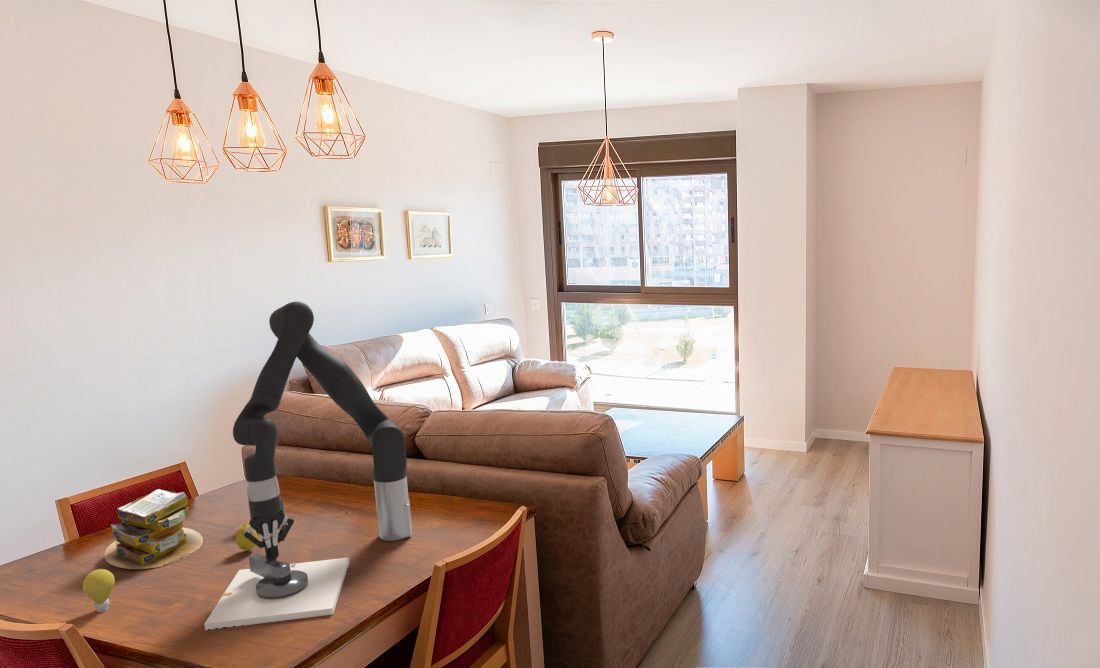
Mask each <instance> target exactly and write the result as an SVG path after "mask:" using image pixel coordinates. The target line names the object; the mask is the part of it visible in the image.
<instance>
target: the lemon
mask: <svg viewBox="0 0 1100 668" xmlns="http://www.w3.org/2000/svg"><path fill="white" fill-rule="evenodd" d="M249 526H250V525H249V524H247V523H244V524H243V525H242V526H240V527H239V528H238V530H237V531H236V537H235V540H236V541H235V542H236V546H238V547H239V549H240V550H243V551H246V552H247V551H248V552H250V551H251V550H252V549H253V548H255V547H256V545H255V544H254V543H253V542H251V541H250V540H249V539H247V538H246V537H245V536H244V535H243V534H242V531H244V530H246V529H247V528H248V527H249ZM253 532H254V535H253V536H254V537H255V538H257V539H258V532H257V531H255V530H254V529H253Z"/></svg>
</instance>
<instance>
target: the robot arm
mask: <svg viewBox="0 0 1100 668" xmlns="http://www.w3.org/2000/svg"><path fill="white" fill-rule="evenodd" d="M314 317H315V316H314V312H313V310H312V308H311V307H310V306H309V305H308V304H307V303H306V302H305V303H304V302H303V301H298V300H297V301H296V300H295V301H292V302H288V303H287V304H285V305H282V306H281V307H279V308H277V309H276V310H274V311H273V312H272V313H271V315H270V316H269V321H268V323H269V327H270V330H271V332H272V333H273V335H274V336H275V337H276V338H277V341H276V343H275V346H274V347H273V350H272V351H271V353H270V355H269V357H268V359H267V361H266V362H265V364H264V365H263V367H262V369H261V371H260V373H259V374H258V377H257V379H256V382H255V385H254V387H253V390H252V393H251V397H250V398H249V400H248V402H247V403H246V404H245V406H244V407H243V409H242V410H241V411H240V413H239V414H238V416H237V418H236V420H235V421H234V424H233V428H232V437H233V440H234V442H236V443H237V444H238V445H241V446H246V447H247V446H249V447H250V446H255V452H254V453H252V454H250V455H248V456H246V458H244V464H243V467H244V471H245V472H244V473H245V478H246V479H245V480H246V494H247V501H248V508H249V515H250V519H249V524H248V525H250V526H249V527H248V528H247V529H246V530H244V531H242V534H243V535H244V536H245V537H246V538H247V539H249V540H250V541H251V542H253V543H254V544H255V546H257V548H259V549H262V548H264V551H265V556H267V557H269V558H272V559H274V560H277V561H278V558H279V556H280V554H279V546H278V545H279V543H281V542H284V541H285V539H286V537H287V535H288V534H289V531H290V530H291V528H292V526H293V524H294V523H295V520H294V518H292V517H290V516H287V515H286V513H285V514H284V513H283V512H282V507H281V499H280V497H281V493H280V491H281V489H280V487H279V486H280V485H279V482H278V477H277V471H276V465H275V454H276V449H277V448H276V447H277V440H278V429H277V425H276V423H275V422H274V421H273V419H272V418H269V417H265V416H266V415H267V414H270V413H273V412H276V411H277V409H278V408H279V406H280V403H281V400H282V397H283V395H284V391H285V388H286V385H287V383H288V380H289V377H290V373H291V371H292V368H293V367H294V363H295V362H296V360H297V359H298V360H299V361H300V363H301V364H302V365H303V367H305V368H306V370H307V371H308V372H309V373H310V374H311V376H313V378H314V379H315V380H316V381H317V383H318V384H319V385H320V387H321V388H322V389H323V391H324V392H325V393H326V394H327V395H328V396H329V398H330V399H331V400H332V401H333V402H334V403H335V405H336V406H338V407H339V408H340V409H341V410H342V411H343V412H345V413H346V414H347V415H348V416H349V417H350V418H352V419H353V420H354V422H355V424H357V425H358V427H359V428H360V429H361V430H360V431H362V433H363V435H364V436H365V437H366V439H367V441H368V443H369V445H370V447H371V448H372V449H371V452H372V460H373V461H372V462H373V469H372V473H373V474H372V475H373V487H374V496H375V497H374V498H375V506H376V517H377V527H378V538H379V539H380V540H382V541H386V542H387V541H388V542H391V541H392V542H394V541H399V540H403V539H406V538H409V537H410V538H411V537H412V532H413V524H412V514H411V502H410V498H409V492H408V491H409V489H408V477H407V467H408V463H407V448H406V447H407V446H406V439H405V436H404V432H403V430H402V429H401V428H400V427H399V426H398V425H397V424H396V423H394V422H393V420H391V419H390V418H389V417H388V416H387V415H386V414H385V413H384V412H383V411H382V410H381V409H380V407H379V406H377V405H376V403H375V402H374V400H373V399H372V397H371V396H370V394H369V392H368V390H367V388H366V386H365V385H364V384H363V382H362V380H360V378H359V377H358V375H357V374H356V373H355V372H354V371H353V370H354V369H352V368H351V367H350V366H349V365H348V363H347V362H346V361H344V360H343V359H342V358H341V357H339V356H338V355H336V354H334V353H333V352H331V351H330V350H328V349H326V348H325V347H323V346H322V345H321V344H320V343H318V341H317V340H316V339H315V338H314V337H313V336H312V334H311V333H310V331H311V330H312V328H313V325H314V321H315V318H314ZM280 527H281V528H280ZM253 529H254V530H255V531H256V533H257V534H259V535H260V537H261V540H259V539H258V537H257V538H255V537H254V536H253V535H254V532H253ZM278 530H279V531H278Z"/></svg>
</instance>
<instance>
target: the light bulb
mask: <svg viewBox="0 0 1100 668" xmlns="http://www.w3.org/2000/svg"><path fill="white" fill-rule="evenodd" d="M115 583H116V580H115V576H114V574H113V573H112V572H111V571H109V570H108V569H103V568H99V569H95V570H92V571H91V572H89V573H88V574H87V575H86V576H85V578H84V579H83V581H82V590H83V592H84V593H85V594H86V595H87V596H88V598H90V599H91V600H92V601H93V602H94V603H93V607H94V609H96V612H98V613H102V612H105V611H107V610H108V609H109V605H110V599H109V597H110V595H111V594H112V593H111V592H112V591H113V588H114V585H115Z"/></svg>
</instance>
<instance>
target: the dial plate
mask: <svg viewBox="0 0 1100 668" xmlns="http://www.w3.org/2000/svg"><path fill="white" fill-rule="evenodd" d="M349 566H350V557H342V558H333V559H324V560H314V561H307V562H305V561H304V562H292V563H290V570H298V571H303V572H305V573H306V574H307V576H308V585H307V586H306V587H305V588H304V589H303V590H301V591H300V592H298V593H296V594H293V595H291V596H287V597H283V598H277V599H265V598H261V597H259V596H258V595H257V593H256V584H257V583H258V582H259V581H260V580H261V579H263V578H264V577H262V576H260V575H258V574H255V573H253V572H251V571H250V568H245V569H239V570H238V571H237V573H236V574H235V576H234V577H233V579H232V581H230V583H229V585H228V586H227V588H226V589H225V591H224V592H223V594H222V596H221V597H220V598H219V601H218V602H217V604H216V605H215V607H214V608H213V610H212V612H211V613H210V614H209V616H208V618H207V619H206V620H205V622H204V631H209V630H208V629H210V630H216V629H215V628H218V629H224V628H223V627H227V628H233V626H235V627H241V626H242V625H243V626H249V625H257V624H259V625H260V624H267V623H275V622H283V621H289V620H291V621H292V620H298V619H307V618H315V617H323V616H332V615H334V612H335V609H336V605H337V602H338V600H339V596H340V593H341V591H342V588H343V584H344V581H345V578H346V575H347V572H346V571H348V569H347V568H349Z"/></svg>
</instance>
